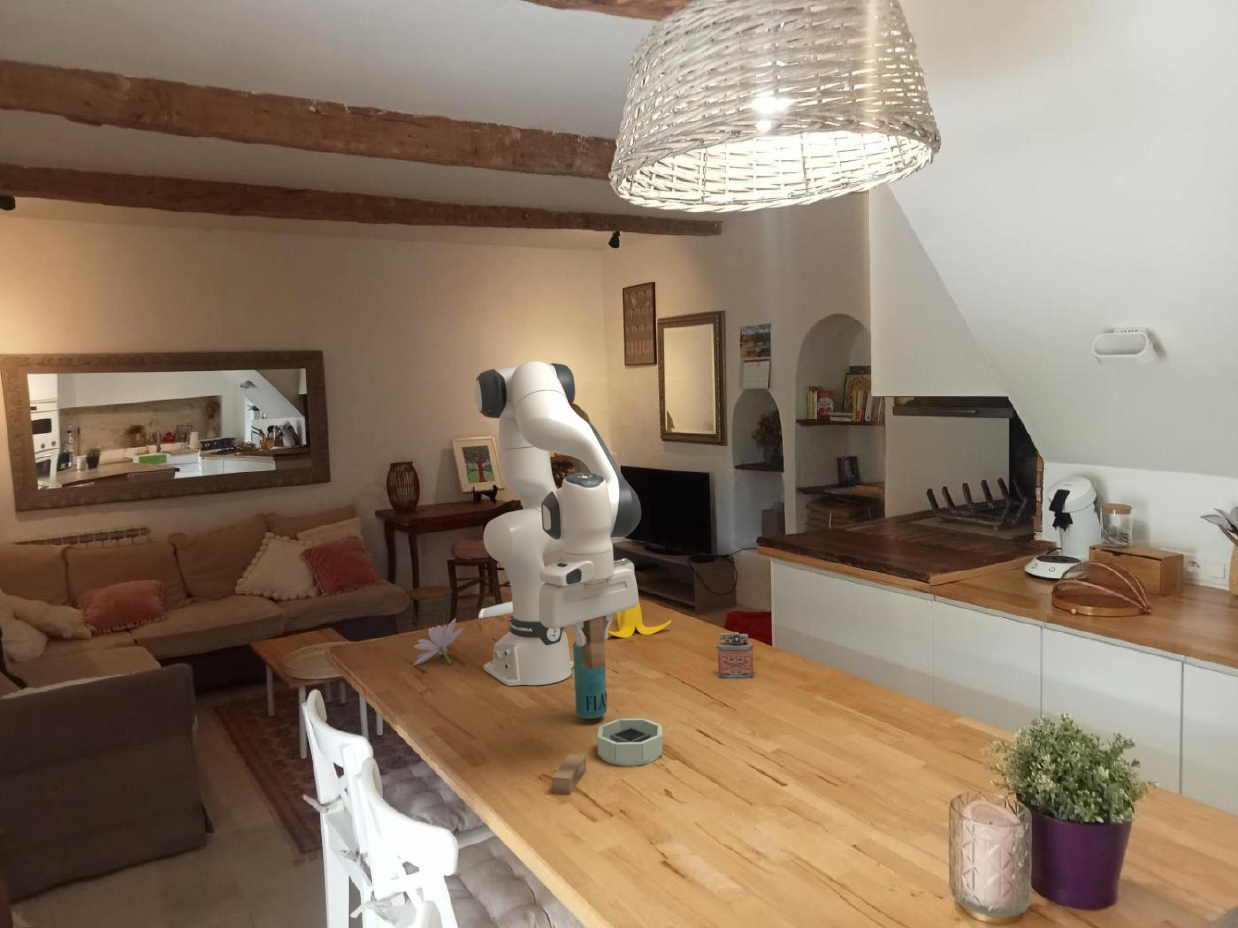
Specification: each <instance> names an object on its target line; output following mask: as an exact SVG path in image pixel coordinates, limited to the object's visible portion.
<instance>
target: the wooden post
mask: <svg viewBox="0 0 1238 928" xmlns="http://www.w3.org/2000/svg"><path fill="white" fill-rule="evenodd" d="M581 629H582V631H583V633H584V634H585V635H588V641H589V644H588V645H585V646H581V661H582V666H583V667H586V668H589V669H591V670H593V669H597V668H600V667H603V666H605V667H606V649H605V640H604V623H603V616H602V617H598V618H595V619H591V620H587V621H584V622H583V628H581Z"/></svg>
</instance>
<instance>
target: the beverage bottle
mask: <svg viewBox="0 0 1238 928" xmlns="http://www.w3.org/2000/svg"><path fill="white" fill-rule="evenodd" d="M572 650H573V651H572V652H573V663H574V666H573V670H574V671H573V672H574V673H573V674H574V697H575V698H574V701H575V702H574V704H575V713H576V715H577V716H578V717H579V718H582V719H597V718H601V717H603V716H605V715H606V714H607V710H608V702H607V701H608V695H607V694H608V693H607V691H608V690H607V680H606V665H605V666H603V667H600V668H597V669H593V670H591V669H589V668H586V667H583V666H582V661H581V646H578V645H577V643H576V640H575V641H574V642H573V644H572Z"/></svg>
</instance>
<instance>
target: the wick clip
mask: <svg viewBox="0 0 1238 928" xmlns="http://www.w3.org/2000/svg"><path fill="white" fill-rule="evenodd" d="M649 738H651V736H650V734H649V733H646V732H643V731H641V730H638V729H636V728H633V727H629V728H626V729H624V730H621V731H619V732H616V733H614V734H611V735H610V740H612V741H615V742H617V743H618V742H642V741H644V740H647V739H649Z"/></svg>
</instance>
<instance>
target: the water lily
mask: <svg viewBox="0 0 1238 928" xmlns="http://www.w3.org/2000/svg"><path fill="white" fill-rule="evenodd" d="M456 621H457V618H454V619H453V620H452V621H450V623H449V624H448V626H447V625H446V624H445V625H444V626H443V627H442V626H441V625H439V624H438V625H437V626H436V627H434V626H432V627H430V628H429V629H428V635H429V638H430V639H425V638H422V639H418V640H417V642H418V643H417V644H415V645H413V646H412V647H413V648H414V649H417V650H422V651H426V652H423V653H422V654H421V653H420V654H419V655H418V656H417V657H416V660H415V662H414V663H413V665H412V666H413V667H414V666H417V665H420V664H422V663H424V662H426V661H427V660H429V659H430V658H432V657H433V656H434V655H435V654H437V655H439V656H442V655H443V656H444V657H445V659H446V661H447V663H448V665H452V664H453V662H452V660H451V659H450V658H449V656H448V655H447V653H446V652H447V650H448V648H447V646H449V645H450V644H452V643H453V642H454V641H455V640H456V639H457V638H458V637H459V636H460V635H461V633H462V632H463V630H464V627H461V628H459V629H457V630H456V631H454V632H453V630H454V629H455V626H456Z"/></svg>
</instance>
